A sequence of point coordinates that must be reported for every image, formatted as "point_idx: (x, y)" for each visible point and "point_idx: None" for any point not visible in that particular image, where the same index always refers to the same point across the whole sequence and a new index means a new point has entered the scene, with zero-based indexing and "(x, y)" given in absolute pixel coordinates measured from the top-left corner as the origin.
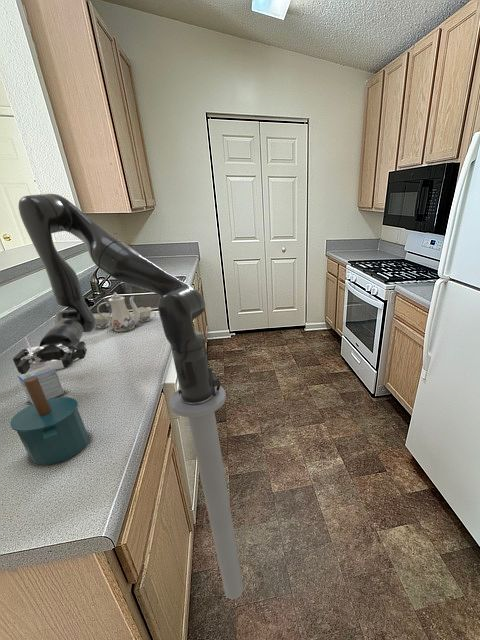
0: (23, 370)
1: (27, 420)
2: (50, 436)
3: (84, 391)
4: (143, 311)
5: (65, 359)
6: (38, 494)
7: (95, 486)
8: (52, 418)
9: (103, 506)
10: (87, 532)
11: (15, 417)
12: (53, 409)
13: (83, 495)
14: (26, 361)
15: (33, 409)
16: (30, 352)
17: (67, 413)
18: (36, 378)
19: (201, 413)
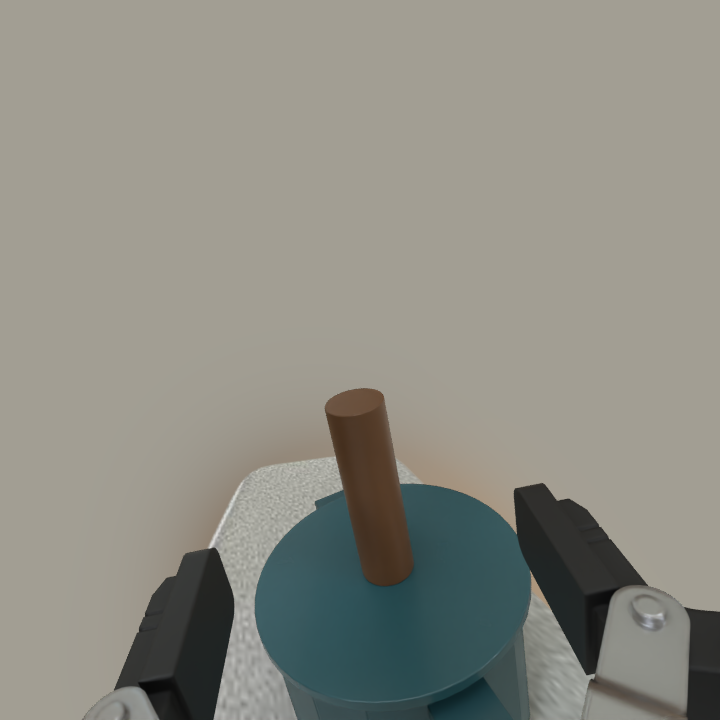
0: (519, 525)
1: (435, 524)
2: (333, 495)
3: None
4: None
5: (184, 565)
6: None
7: (267, 538)
8: (338, 528)
9: (250, 500)
10: (273, 467)
11: (509, 545)
12: (357, 582)
13: (290, 521)
14: (569, 582)
15: (461, 591)
16: (665, 714)
17: (287, 549)
18: (326, 406)
19: None
